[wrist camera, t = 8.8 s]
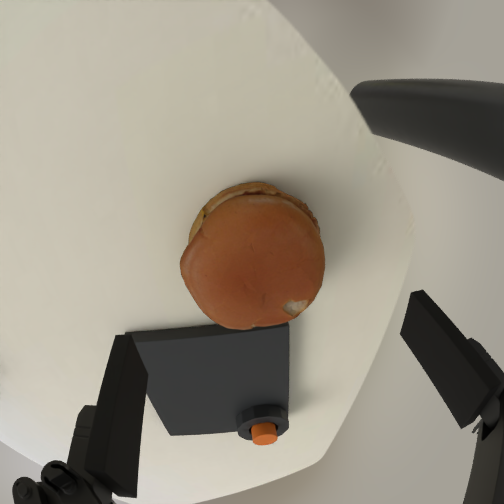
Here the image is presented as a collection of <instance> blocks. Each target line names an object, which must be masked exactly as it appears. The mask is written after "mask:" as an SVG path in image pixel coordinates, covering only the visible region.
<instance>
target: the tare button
mask: <svg viewBox="0 0 504 504" xmlns="http://www.w3.org/2000/svg"><path fill="white" fill-rule="evenodd" d="M251 432H252V439H253V443H254V444H257V445H268V444H271V443H274V442H275V441H276V440H277V438H278V437H277V432H276V428H275V424H274V423H271V422H265V423H258V424H256V425H254V426H252V427H251Z"/></svg>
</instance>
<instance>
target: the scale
mask: <svg viewBox="0 0 504 504" xmlns="http://www.w3.org/2000/svg"><path fill="white" fill-rule="evenodd" d="M127 334H131V335H132V338H133V340H134V343H135V345H136V347H137V350H138V352H139V354H140V357H141V359H142V361H143V363H144V366H145V368H146V370H147V372H148V374H149V376H148V383H147V390H146V393H147V395H148V397H149V399H150V401H151V403H152V405H153V406H154V408H155V410H156V412H157V414H158V415H159V417H160V419H161V421H162V422H163V424H164V426H165V428H166V429H167V431H168V433H169V434H170V436H177V435H200V434H214V433H226V432H236V431H238V435H239V436H240V437H242V438H244V439H246V440H253V439H252V432H251V427H252V426H254V425H256V424H258V423H265V422H271V423H274V424H275V428H276V432H277V437H278V436H280V435H282V434H283V433H284V432H285V431H286V430H288V428H289V421H288V402H289V324H288V322H285V323H282V324H278V325H272V326H265V327H260V326H256V327H253V328H252V329H246V330H240V329H229V328H226V327H224V326H221V325H219V324H217V325H208V326H199V327H189V328H178V329H167V330H155V331H141V332H127V333H125V335H127Z"/></svg>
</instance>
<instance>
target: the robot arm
mask: <svg viewBox="0 0 504 504" xmlns="http://www.w3.org/2000/svg"><path fill="white" fill-rule="evenodd" d="M400 335H401V336H402V338H403V339H404V341H405V342H406V344H407V345H408V347H409V348H410V349H411V351H412V352H413V354H414V355H415V357H416V358H417V360H418V361H419V363H420V364H421V365H422V367H423V369H424V370H425V372H426V373H427V375H428V376H429V378H430V379H431V381H432V383H433V384H434V386H435V387H436V389H437V390H438V392H439V394H440V395H441V397H442V398H443V400H444V402H445V403H446V405H447V406H448V408H449V409H450V411H451V413H452V415H453V416H454V418H455V420H456V421H457V423H458V425H459V426H460V428H461V429H462V428H464V427H466V426H467V425H469V424H471V423H473V422H474V421H475V419H476V418H477V417H478V416H479V414H480V416H481V418H482V419H481V420H480V421H479V423H478V424H477V425H476V426H475V427H474V429H473V431H472V433H474V432H475V431H476V430H477V429H478V428H479V430H478V432H477V434H478V437H477V443H476V449H475V455H474V460H473V465H472V469H471V474H470V478H469V483H468V487H467V490H466V494H465V498H464V501H463V504H504V373H503V371H502V370H501V369H500V367H499V366H498V365H497V364H496V362H495V361H494V360H493V359H491V356H490V355H489V354H488V353H486V350H485V349H484V348H483V346H482V345H481V344H480V343H479V342H477V341H476V340H474V339H472V338H469V339H466V337H465V336H464V335H463V334H462V333H461V332H460V331H459V329H458V328H457V327H456V326H455V325H454V324H453V322H452V321H451V320H450V319H449V318H448V317H447V315H446V314H445V313H444V312H443V311H442V310H441V309H440V308H439V307H438V305H437V304H436V303H434V301H433V300H432V299H431V298H430V297H429V296H428V295H427V294H426V293H425V291H424V290H420V291H415V292H412V293H411V294H410V299H409V303H408V307H407V311H406V314H405V318H404V322H403V325H402V329H401V332H400ZM148 376H149V374H148V372H147V370H146V368H145V366H144V363H143V361H142V359H141V357H140V354H139V352H138V350H137V347H136V345H135V343H134V340H133V338H132V335H131V334H127V335H116V336H115V339H114V342H113V346H112V349H111V352H110V356H109V359H108V363H107V367H106V370H105V374H104V378H103V381H102V385H101V389H100V393H99V397H98V401H97V406H93V405H85V406H84V407H83V409H82V410H81V411H80V413H79V414H78V417H77V421H76V425H75V426H76V428H75V429H74V433H73V435H74V436H73V438H72V442H71V446H70V451H69V456H68V460H67V464H66V463H64V462H62V461H57V460H54V461H51V462H49V463H47V464H46V465H45V466H44V468H43V470H42V472H41V480H42V482H35V481H33V480H32V479H30V478H28V477H21V478H19V479H17V480H16V481H15V483H14V485H13V489H12V492H13V498H14V503H15V504H116V503H115V502H114V501H113V500H112V492H113V493H115V494H116V495H117V496H120V497H131V498H137V483H138V468H139V455H140V443H141V433H142V423H143V414H144V406H145V398H146V390H147V383H148Z"/></svg>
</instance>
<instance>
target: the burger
mask: <svg viewBox="0 0 504 504" xmlns="http://www.w3.org/2000/svg"><path fill="white" fill-rule="evenodd" d="M320 237H321V236H320V228H319V226H318V223H317V219H316V218H315V217H313V214H312V212H311V211H310V210H308V207H307V205H306V203H305V204H304V203H303V202H302V201H300V200H298V199H297V198H295V197H293V196H290V195H288V194H286V193H284V192H282V191H280V190H278V189H277V188H276V187H274V186H272V185H269V184H266V183H261V182H253V183H244V184H239V185H237V186H234V187H231V188H228V189H226V190H224V191H221V192H220V193H219V194H217V195H216V196H215V197H214V198H212V199H211V200H210V201H209V202H208V203H207V204H206V205H205V206H204V207H203V208H202V209H201V211H200V212H199V214H198V216H197V218H196V220H195V221H194V223H193V225H192V228H191V231H190V234H189V244H188V245H187V247H186V249H185V251H184V253H183V255H182V257H181V260H180V269H181V275H182V277H183V279H184V282H185V285H186V287H187V288H188V290H189V292H190V293H191V295H192V297H193V298H194V300H195V301H196V303H197V305H198V306H199V308H200V309H201V310H202V312H203V313H205V314H206V315H207V316H208V317H209V318H210V319H212V320H213V321H214V322H216V323H217V324H219V325H221V326H224V327H226V328H229V329H240V330H246V329H252V328H253V327H256V326H260V327H265V326H272V325H278V324H282V323H285V322H288V321H290V320H292V319H294V318H296V317H297V316H298V315H299V314H300V313H301V312H303V311H304V310H305V309H306V308H307V307H308V306H309V305H310V304H311V303H312V302H313V301H314V299H315V297H316V295H317V293H318V291H319V290H320V288H321V286H322V281H323V276H324V271H325V255H324V247H323V244H322V241H321V238H320Z"/></svg>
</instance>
